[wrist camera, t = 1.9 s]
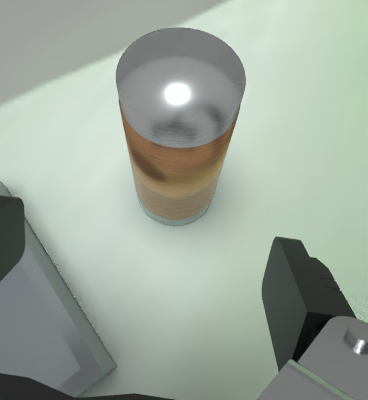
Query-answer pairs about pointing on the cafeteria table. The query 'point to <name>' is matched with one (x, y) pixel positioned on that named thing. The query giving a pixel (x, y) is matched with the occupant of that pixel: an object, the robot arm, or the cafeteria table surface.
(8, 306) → the gray tray
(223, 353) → the cafeteria table surface
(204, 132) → the tin can
